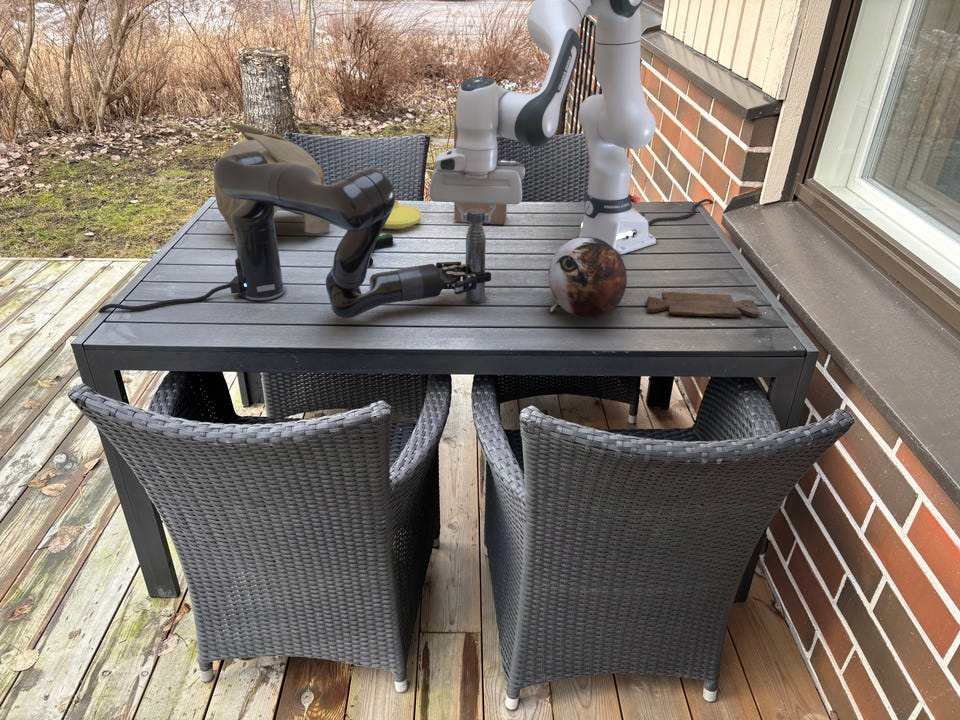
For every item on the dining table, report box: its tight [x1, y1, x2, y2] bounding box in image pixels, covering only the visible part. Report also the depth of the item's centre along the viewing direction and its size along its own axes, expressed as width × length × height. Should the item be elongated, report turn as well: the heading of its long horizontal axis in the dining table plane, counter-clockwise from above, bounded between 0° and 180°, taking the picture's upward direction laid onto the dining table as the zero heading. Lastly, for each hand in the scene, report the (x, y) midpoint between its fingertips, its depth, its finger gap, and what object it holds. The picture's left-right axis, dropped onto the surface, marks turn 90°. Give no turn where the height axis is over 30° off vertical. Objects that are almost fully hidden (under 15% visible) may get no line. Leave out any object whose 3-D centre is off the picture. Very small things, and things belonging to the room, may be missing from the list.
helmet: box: [213, 123, 331, 235], centre depth 198 cm, size 27×30×30 cm
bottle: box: [465, 223, 487, 305], centre depth 164 cm, size 4×4×21 cm
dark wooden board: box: [646, 291, 762, 318], centre depth 167 cm, size 26×2×10 cm
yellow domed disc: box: [383, 199, 423, 230], centre depth 210 cm, size 16×16×7 cm
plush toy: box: [547, 236, 628, 319], centre depth 161 cm, size 22×18×20 cm
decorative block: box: [453, 118, 508, 226], centre depth 209 cm, size 8×15×30 cm, turn 82°
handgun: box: [368, 233, 394, 267], centre depth 191 cm, size 16×3×15 cm
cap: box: [468, 208, 485, 224], centre depth 159 cm, size 4×4×2 cm
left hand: (485, 272), depth 167 cm, fingers closed on bottle, 4 cm apart
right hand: (475, 221), depth 160 cm, fingers closed on cap, 4 cm apart
